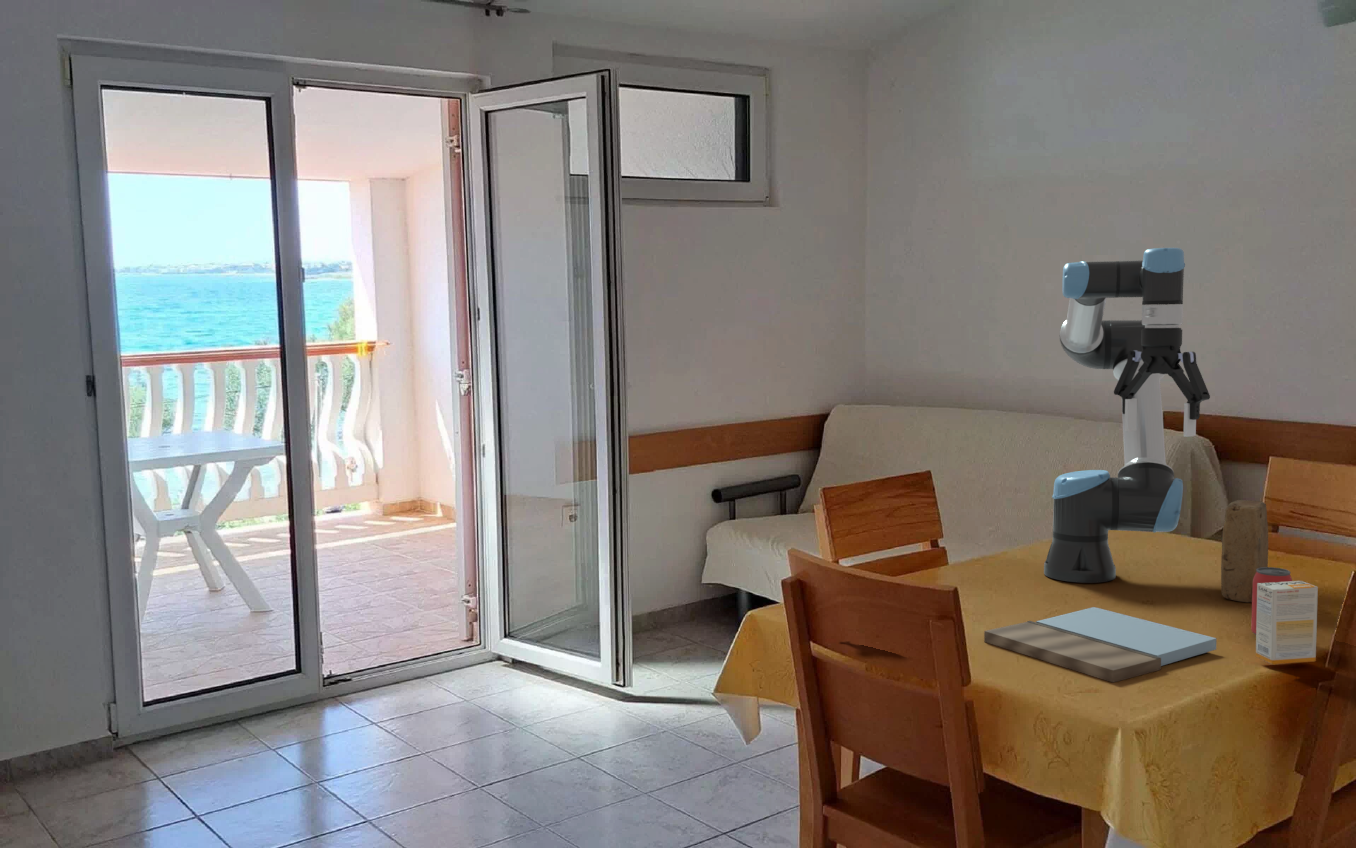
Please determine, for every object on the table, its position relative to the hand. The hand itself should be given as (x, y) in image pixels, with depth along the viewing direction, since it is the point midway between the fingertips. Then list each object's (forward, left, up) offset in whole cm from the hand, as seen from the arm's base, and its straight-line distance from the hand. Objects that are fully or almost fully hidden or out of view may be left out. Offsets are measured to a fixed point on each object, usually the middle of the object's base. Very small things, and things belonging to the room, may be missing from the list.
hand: (1159, 433), depth 233 cm
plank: (+14, -36, -33) cm, 51 cm away
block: (+7, +19, -35) cm, 40 cm away
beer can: (+26, -2, -35) cm, 44 cm away
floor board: (+14, -42, -35) cm, 56 cm away
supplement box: (+36, -14, -35) cm, 52 cm away
